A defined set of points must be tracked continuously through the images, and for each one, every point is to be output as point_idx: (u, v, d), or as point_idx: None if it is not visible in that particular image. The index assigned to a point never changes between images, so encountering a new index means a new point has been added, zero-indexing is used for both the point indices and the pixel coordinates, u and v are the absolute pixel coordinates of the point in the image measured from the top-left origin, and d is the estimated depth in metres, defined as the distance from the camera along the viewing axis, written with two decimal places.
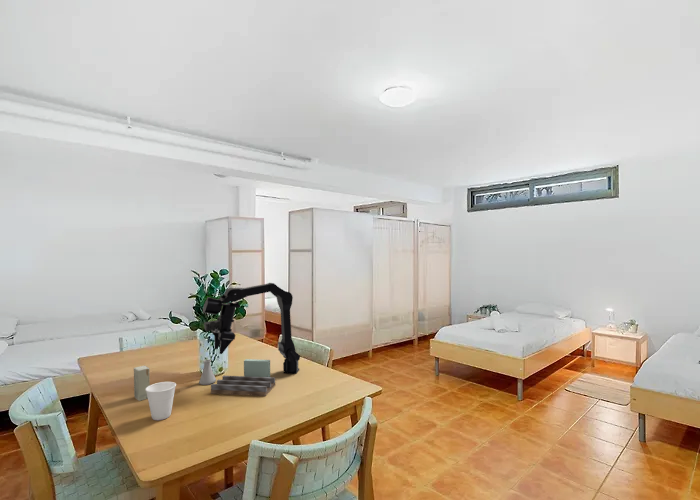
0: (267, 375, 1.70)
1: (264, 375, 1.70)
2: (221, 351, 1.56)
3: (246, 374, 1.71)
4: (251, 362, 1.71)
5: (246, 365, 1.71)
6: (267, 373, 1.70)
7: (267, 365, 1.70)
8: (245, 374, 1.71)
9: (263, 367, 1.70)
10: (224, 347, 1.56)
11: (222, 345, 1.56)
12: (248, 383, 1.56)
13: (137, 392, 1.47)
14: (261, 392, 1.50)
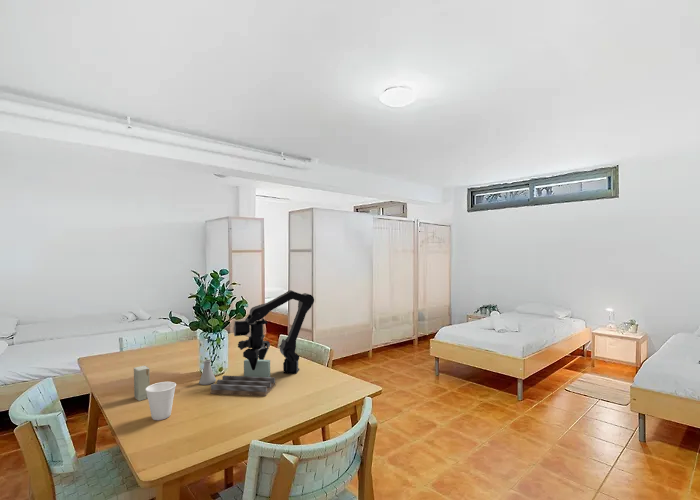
0: (267, 375, 1.70)
1: (264, 375, 1.70)
2: (252, 367, 1.67)
3: (246, 374, 1.71)
4: None
5: (246, 365, 1.71)
6: (267, 373, 1.70)
7: (267, 365, 1.70)
8: (245, 374, 1.71)
9: (263, 367, 1.70)
10: (253, 364, 1.66)
11: (251, 362, 1.66)
12: (248, 383, 1.56)
13: (137, 392, 1.47)
14: (261, 392, 1.50)
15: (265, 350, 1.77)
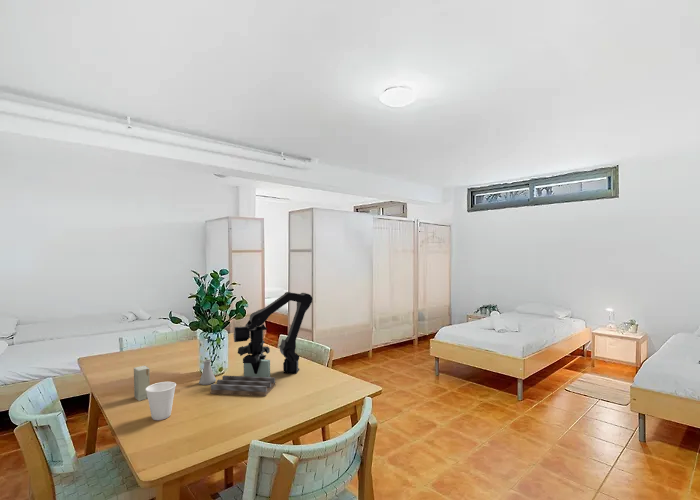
0: (267, 375, 1.70)
1: (264, 375, 1.70)
2: (255, 371, 1.70)
3: (246, 374, 1.71)
4: None
5: (246, 365, 1.71)
6: (267, 373, 1.70)
7: (267, 365, 1.70)
8: (245, 374, 1.71)
9: (263, 367, 1.70)
10: (256, 368, 1.69)
11: (253, 366, 1.69)
12: (248, 383, 1.56)
13: (137, 392, 1.47)
14: (261, 392, 1.50)
15: (262, 358, 1.74)
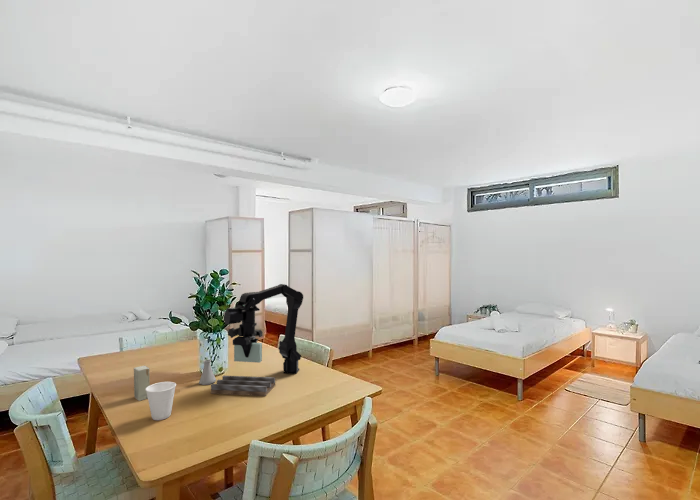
0: (258, 359, 1.61)
1: (255, 359, 1.61)
2: (246, 355, 1.61)
3: (236, 357, 1.62)
4: None
5: (237, 348, 1.62)
6: (258, 357, 1.61)
7: (258, 348, 1.61)
8: (235, 357, 1.62)
9: (254, 350, 1.61)
10: (247, 351, 1.60)
11: (244, 349, 1.60)
12: (248, 383, 1.56)
13: (137, 392, 1.47)
14: (261, 392, 1.50)
15: (254, 341, 1.64)
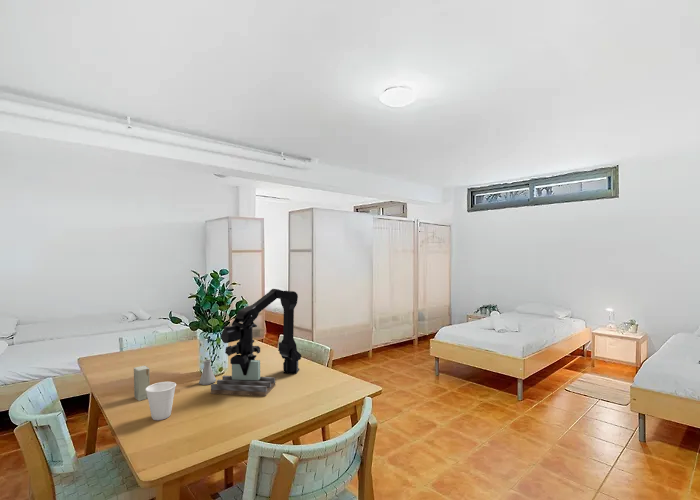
0: (257, 377, 1.58)
1: (253, 377, 1.58)
2: (244, 373, 1.58)
3: (234, 376, 1.59)
4: None
5: (234, 366, 1.59)
6: (257, 374, 1.58)
7: (257, 366, 1.58)
8: (233, 376, 1.59)
9: (252, 368, 1.58)
10: (245, 369, 1.57)
11: (242, 367, 1.57)
12: (248, 383, 1.56)
13: (137, 392, 1.47)
14: (261, 392, 1.50)
15: (252, 358, 1.61)
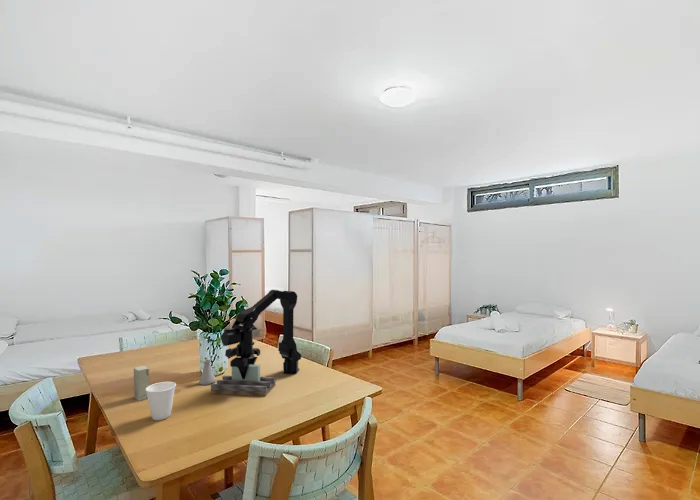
0: None
1: None
2: (243, 376, 1.56)
3: None
4: None
5: (234, 371, 1.59)
6: (257, 379, 1.58)
7: (257, 370, 1.58)
8: None
9: (252, 373, 1.58)
10: (243, 372, 1.56)
11: (241, 370, 1.56)
12: (248, 383, 1.56)
13: (137, 392, 1.47)
14: (261, 392, 1.50)
15: (253, 360, 1.63)
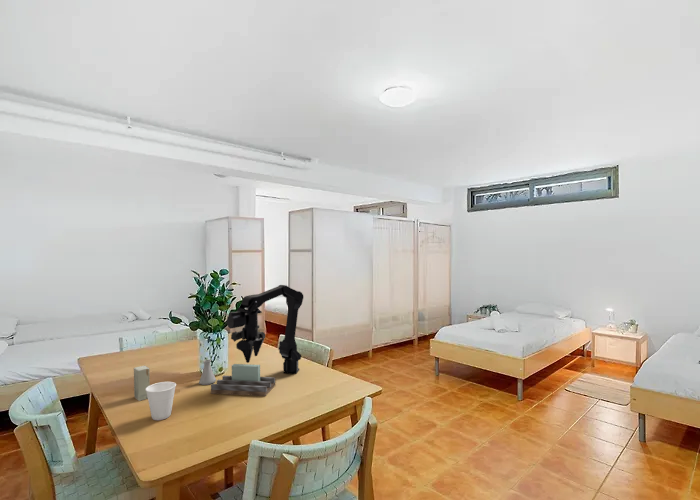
0: None
1: None
2: (247, 360, 1.57)
3: None
4: (239, 367, 1.59)
5: (234, 371, 1.59)
6: (257, 379, 1.58)
7: (257, 370, 1.58)
8: None
9: (252, 373, 1.58)
10: (248, 356, 1.57)
11: (245, 354, 1.57)
12: (248, 383, 1.56)
13: (137, 392, 1.47)
14: (261, 392, 1.50)
15: (260, 342, 1.67)
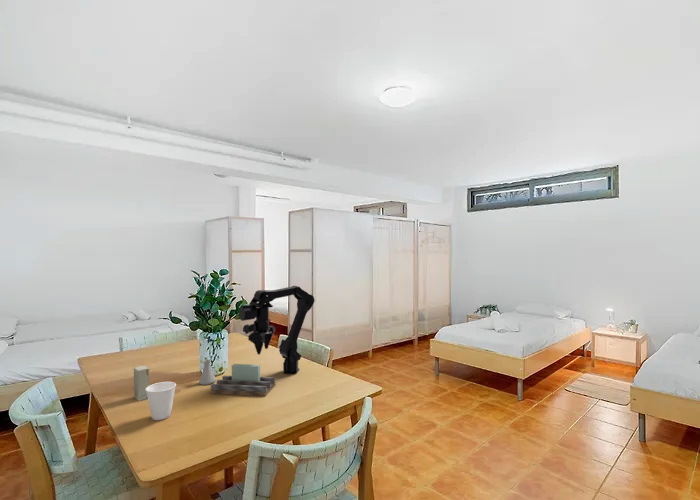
0: None
1: None
2: (258, 352, 1.63)
3: None
4: (239, 367, 1.59)
5: (234, 371, 1.59)
6: (257, 379, 1.58)
7: (257, 370, 1.58)
8: None
9: (252, 373, 1.58)
10: (259, 348, 1.63)
11: (256, 346, 1.63)
12: (248, 383, 1.56)
13: (137, 392, 1.47)
14: (261, 392, 1.50)
15: (270, 335, 1.73)
